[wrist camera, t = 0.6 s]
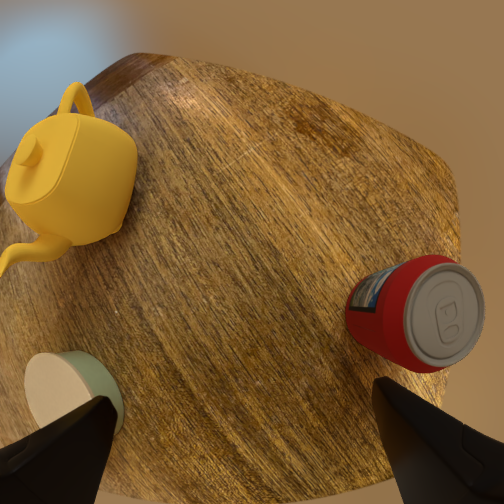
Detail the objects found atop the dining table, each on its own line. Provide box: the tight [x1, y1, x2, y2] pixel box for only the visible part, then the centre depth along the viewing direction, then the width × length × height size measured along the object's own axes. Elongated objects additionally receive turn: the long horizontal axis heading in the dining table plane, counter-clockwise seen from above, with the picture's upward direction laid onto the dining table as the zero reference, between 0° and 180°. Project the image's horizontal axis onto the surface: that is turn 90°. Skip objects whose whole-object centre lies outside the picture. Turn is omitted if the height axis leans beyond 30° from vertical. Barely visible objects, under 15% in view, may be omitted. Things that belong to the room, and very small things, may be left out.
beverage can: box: [345, 255, 485, 373], centre depth 17 cm, size 7×7×12 cm
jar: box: [24, 350, 124, 436], centre depth 22 cm, size 11×11×5 cm
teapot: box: [0, 82, 138, 278], centre depth 22 cm, size 13×20×12 cm
